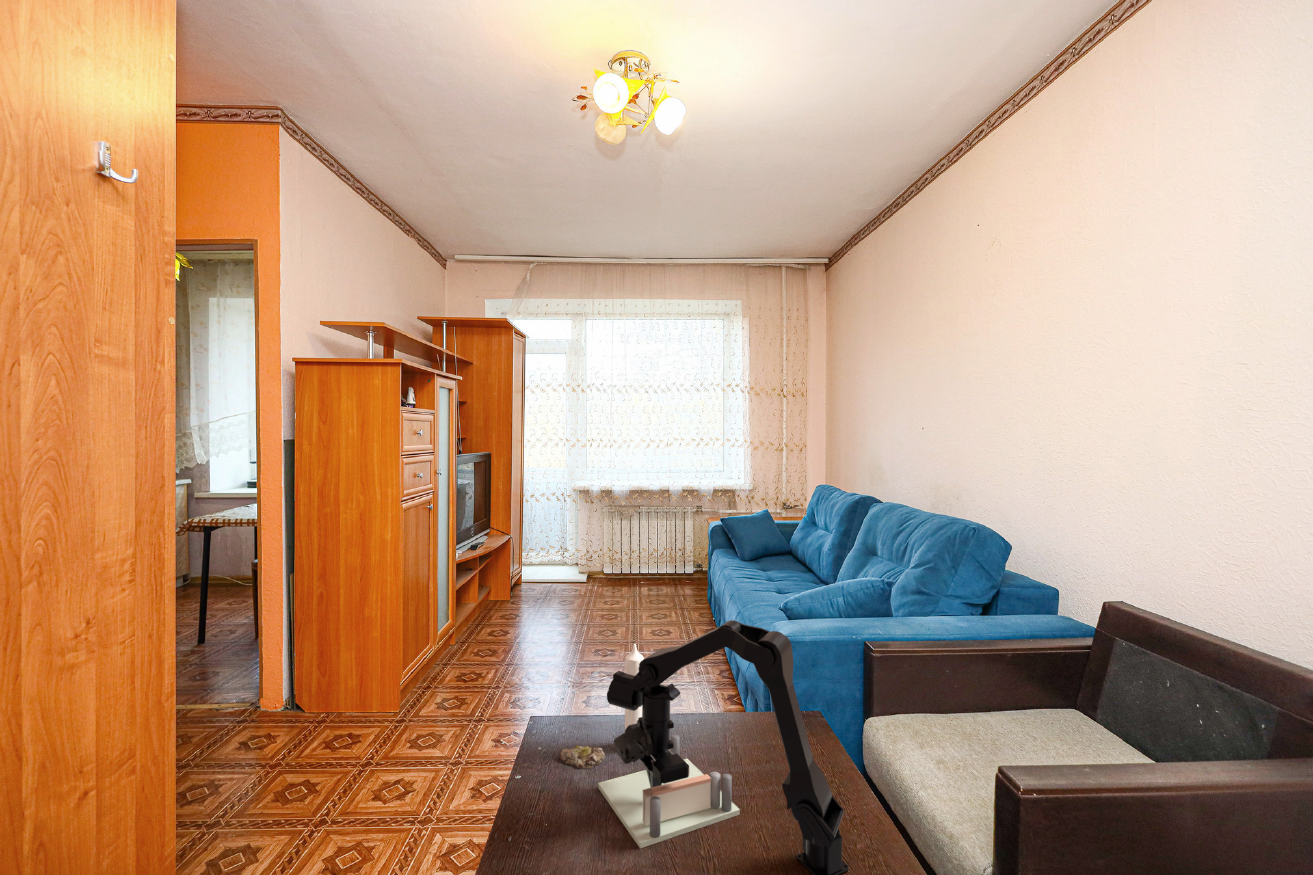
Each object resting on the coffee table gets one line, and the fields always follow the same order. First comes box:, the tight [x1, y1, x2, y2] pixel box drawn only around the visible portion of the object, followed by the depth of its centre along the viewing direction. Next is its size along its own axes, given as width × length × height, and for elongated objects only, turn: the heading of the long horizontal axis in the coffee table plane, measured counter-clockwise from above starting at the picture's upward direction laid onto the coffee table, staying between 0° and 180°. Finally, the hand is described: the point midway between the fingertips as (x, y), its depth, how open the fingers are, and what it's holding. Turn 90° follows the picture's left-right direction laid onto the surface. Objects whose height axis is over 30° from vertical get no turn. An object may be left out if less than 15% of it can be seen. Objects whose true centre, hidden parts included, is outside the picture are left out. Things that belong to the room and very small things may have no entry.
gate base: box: [597, 734, 741, 849], centre depth 122 cm, size 21×22×8 cm
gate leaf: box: [642, 771, 721, 826], centre depth 116 cm, size 16×2×6 cm, turn 113°
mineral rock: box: [559, 744, 606, 769], centre depth 138 cm, size 11×4×8 cm
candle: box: [624, 643, 645, 731], centre depth 144 cm, size 7×7×25 cm
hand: (654, 791), depth 120 cm, fingers closed
